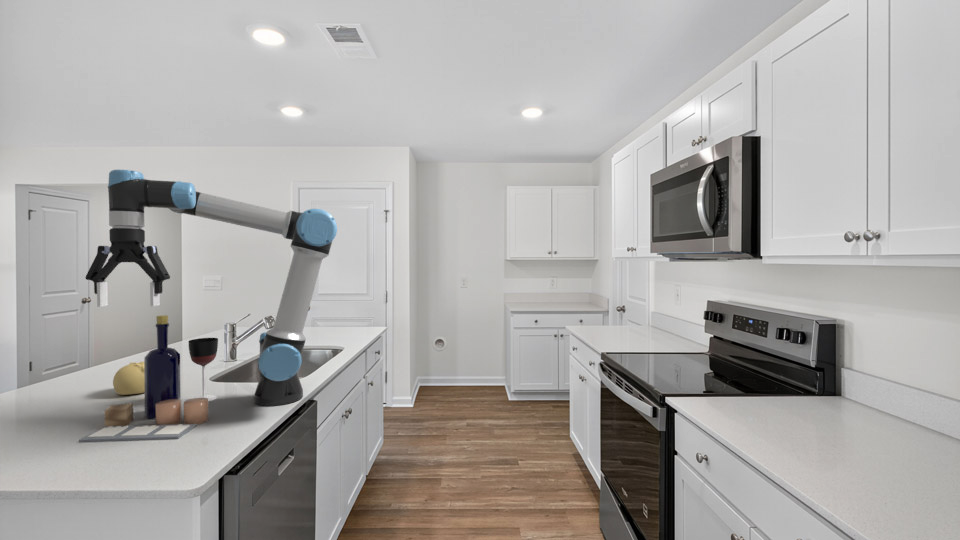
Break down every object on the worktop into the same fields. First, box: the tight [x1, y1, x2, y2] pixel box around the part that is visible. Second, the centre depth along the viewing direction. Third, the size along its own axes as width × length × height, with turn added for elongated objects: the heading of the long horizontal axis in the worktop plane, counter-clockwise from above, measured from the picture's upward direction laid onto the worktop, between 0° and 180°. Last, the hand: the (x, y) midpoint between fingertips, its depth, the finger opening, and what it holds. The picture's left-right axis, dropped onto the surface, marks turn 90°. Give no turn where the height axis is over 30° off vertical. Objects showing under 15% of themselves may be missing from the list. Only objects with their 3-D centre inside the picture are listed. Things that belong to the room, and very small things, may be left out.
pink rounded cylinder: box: [155, 399, 182, 425], centre depth 128 cm, size 6×6×6 cm
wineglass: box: [188, 337, 219, 402], centre depth 149 cm, size 8×9×20 cm
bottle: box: [143, 314, 181, 420], centre depth 135 cm, size 9×9×30 cm
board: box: [78, 423, 197, 443], centre depth 120 cm, size 24×9×1 cm, turn 96°
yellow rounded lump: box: [112, 361, 145, 396], centre depth 155 cm, size 12×12×11 cm
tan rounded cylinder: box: [183, 397, 209, 425], centre depth 129 cm, size 6×6×6 cm
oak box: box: [104, 402, 134, 427], centre depth 127 cm, size 5×5×5 cm
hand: (129, 306), depth 121 cm, fingers open, 13 cm apart
